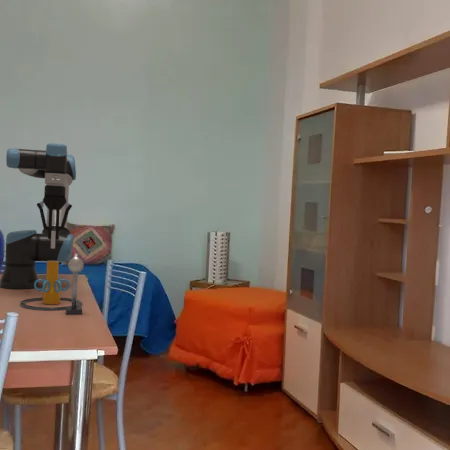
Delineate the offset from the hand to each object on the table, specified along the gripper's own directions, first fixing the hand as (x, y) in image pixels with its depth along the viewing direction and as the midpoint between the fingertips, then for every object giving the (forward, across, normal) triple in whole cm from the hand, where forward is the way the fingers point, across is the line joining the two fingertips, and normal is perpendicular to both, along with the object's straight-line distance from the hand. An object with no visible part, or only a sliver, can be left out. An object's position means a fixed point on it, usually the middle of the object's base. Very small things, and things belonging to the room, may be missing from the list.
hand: (52, 248), depth 213 cm
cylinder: (+19, 0, -13) cm, 23 cm away
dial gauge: (+19, +7, -29) cm, 35 cm away
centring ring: (+19, 0, -16) cm, 24 cm away
